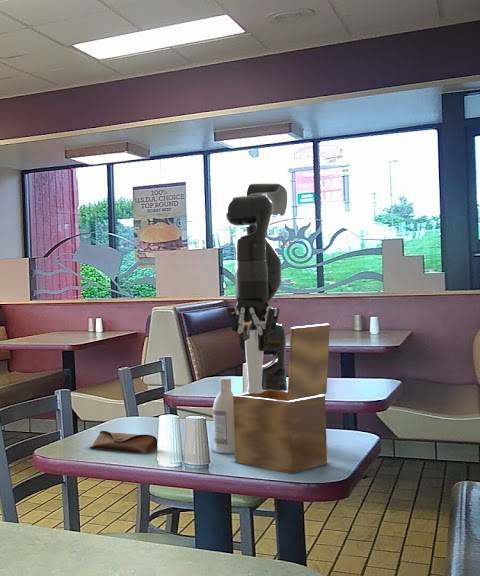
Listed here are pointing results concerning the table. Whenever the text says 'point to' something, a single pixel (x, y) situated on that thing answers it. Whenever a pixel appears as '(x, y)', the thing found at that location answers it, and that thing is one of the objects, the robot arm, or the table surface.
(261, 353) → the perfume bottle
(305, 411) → the chest
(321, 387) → the chest lid
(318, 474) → the table surface
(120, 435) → the sunglasses case
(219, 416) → the bath foam
